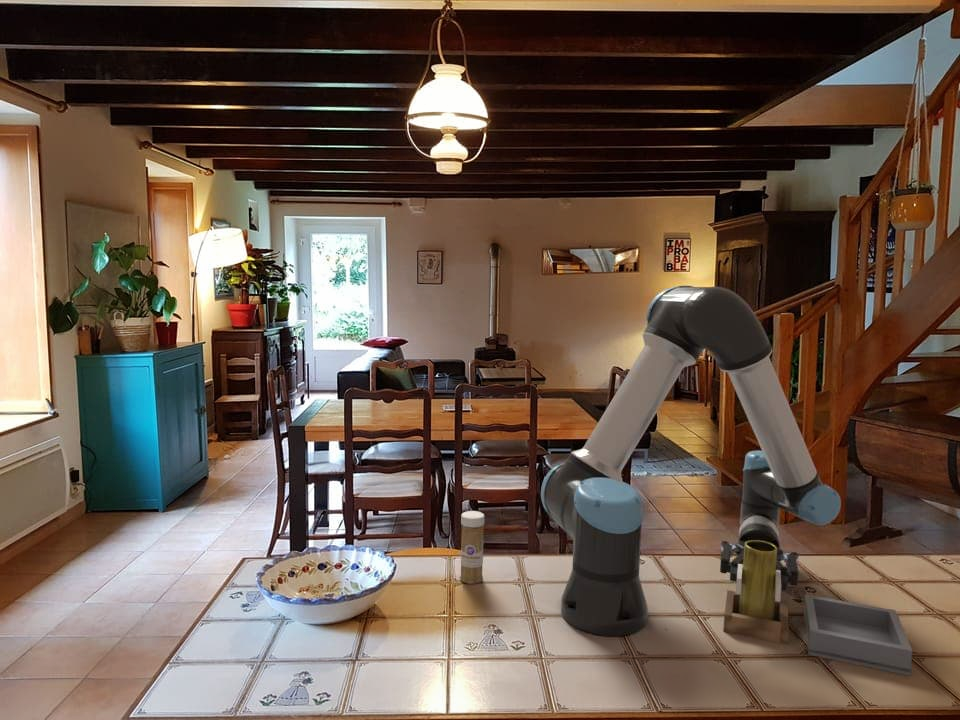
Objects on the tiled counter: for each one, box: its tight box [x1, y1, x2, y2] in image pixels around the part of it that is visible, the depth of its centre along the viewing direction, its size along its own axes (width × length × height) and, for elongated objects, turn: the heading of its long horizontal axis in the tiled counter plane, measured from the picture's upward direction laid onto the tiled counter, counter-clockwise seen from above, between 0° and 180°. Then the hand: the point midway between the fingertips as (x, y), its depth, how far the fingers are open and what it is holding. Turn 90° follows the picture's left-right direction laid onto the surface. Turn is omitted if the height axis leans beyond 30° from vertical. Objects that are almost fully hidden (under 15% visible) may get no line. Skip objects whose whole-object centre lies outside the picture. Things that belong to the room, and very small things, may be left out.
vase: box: [738, 540, 777, 621], centre depth 116 cm, size 6×6×14 cm
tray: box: [803, 593, 913, 676], centre depth 111 cm, size 14×14×4 cm
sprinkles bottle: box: [459, 510, 485, 585], centre depth 131 cm, size 5×5×14 cm
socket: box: [723, 589, 790, 645], centre depth 117 cm, size 10×10×3 cm
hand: (758, 589), depth 111 cm, fingers closed on vase, 5 cm apart
